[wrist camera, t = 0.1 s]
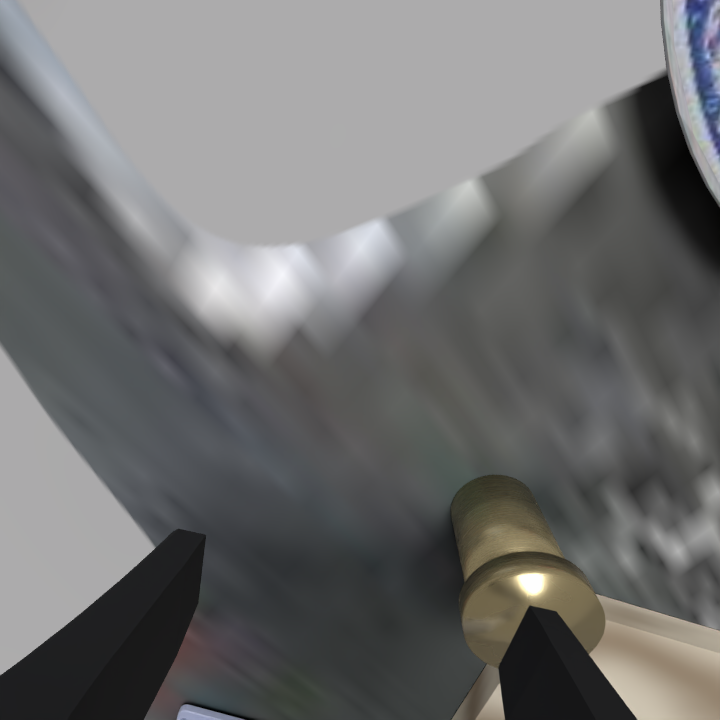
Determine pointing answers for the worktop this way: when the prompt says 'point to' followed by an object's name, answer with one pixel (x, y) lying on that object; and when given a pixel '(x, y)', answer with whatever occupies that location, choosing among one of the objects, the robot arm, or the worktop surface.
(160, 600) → the robot arm
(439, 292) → the worktop surface
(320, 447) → the worktop surface
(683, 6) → the ceramic plate
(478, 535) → the knob
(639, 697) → the plate
